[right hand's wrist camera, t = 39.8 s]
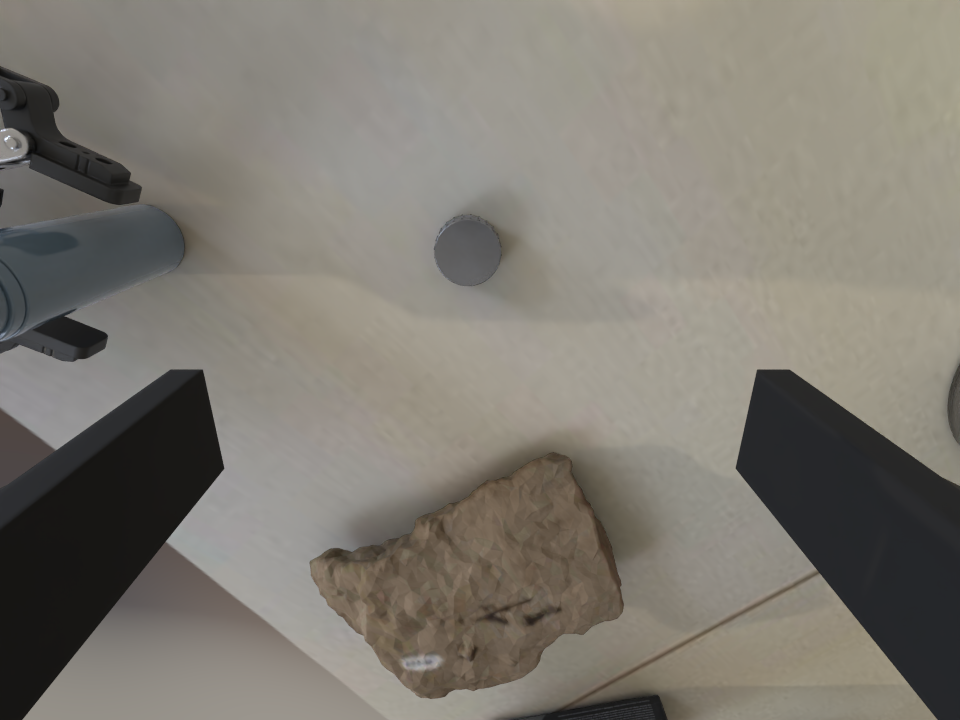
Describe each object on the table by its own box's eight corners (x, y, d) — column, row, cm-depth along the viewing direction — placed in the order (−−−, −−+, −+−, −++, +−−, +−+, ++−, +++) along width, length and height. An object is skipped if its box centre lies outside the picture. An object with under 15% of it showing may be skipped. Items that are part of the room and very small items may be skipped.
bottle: (147, 189, 30) (-224, 242, 14) (199, 249, 32) (-84, 359, 16) (98, 230, 31) (-306, 323, 15) (151, 286, 33) (-166, 428, 16)
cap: (423, 236, 32) (420, 242, 30) (478, 201, 31) (478, 205, 29) (458, 290, 33) (457, 299, 31) (511, 257, 32) (514, 264, 30)
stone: (400, 698, 43) (393, 762, 37) (312, 547, 41) (289, 590, 35) (628, 581, 43) (657, 627, 37) (550, 425, 41) (568, 447, 35)
